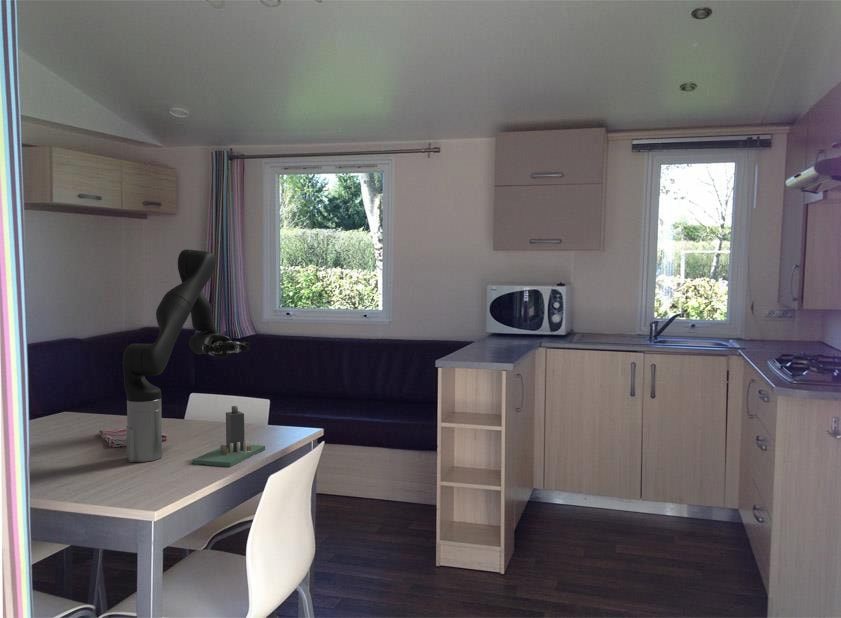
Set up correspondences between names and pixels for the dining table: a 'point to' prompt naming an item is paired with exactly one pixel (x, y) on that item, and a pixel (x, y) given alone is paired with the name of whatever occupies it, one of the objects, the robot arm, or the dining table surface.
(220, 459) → the board
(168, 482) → the dining table surface
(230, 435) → the block
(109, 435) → the dish towel
